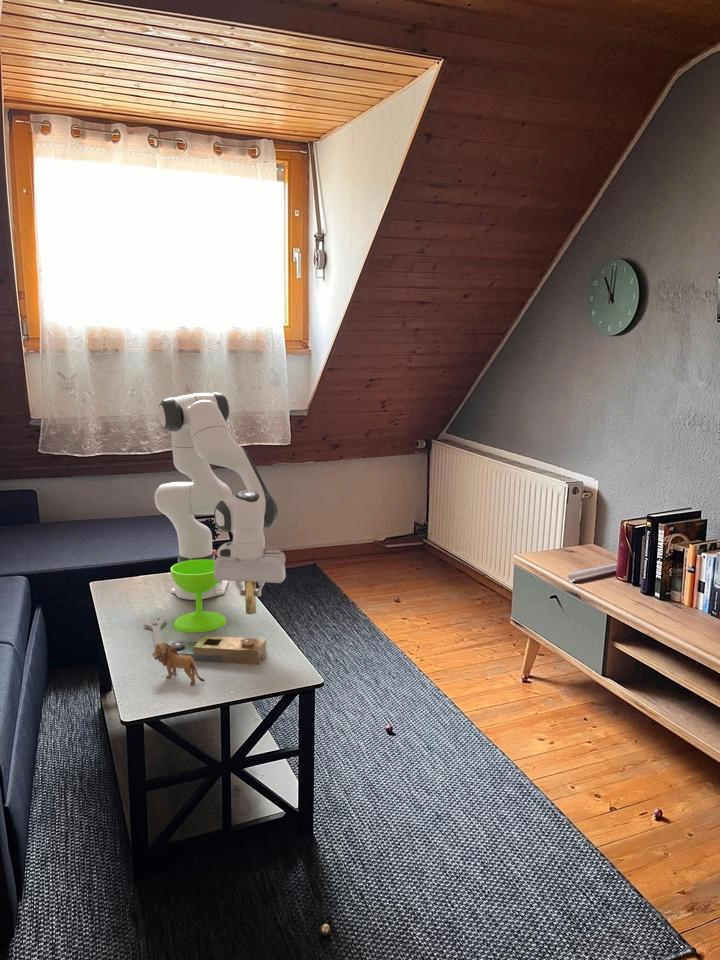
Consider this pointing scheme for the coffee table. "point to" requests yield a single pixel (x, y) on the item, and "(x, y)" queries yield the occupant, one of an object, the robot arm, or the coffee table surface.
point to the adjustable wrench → (156, 628)
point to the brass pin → (250, 597)
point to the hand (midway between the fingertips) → (250, 595)
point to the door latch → (223, 649)
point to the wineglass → (196, 580)
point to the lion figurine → (175, 661)
